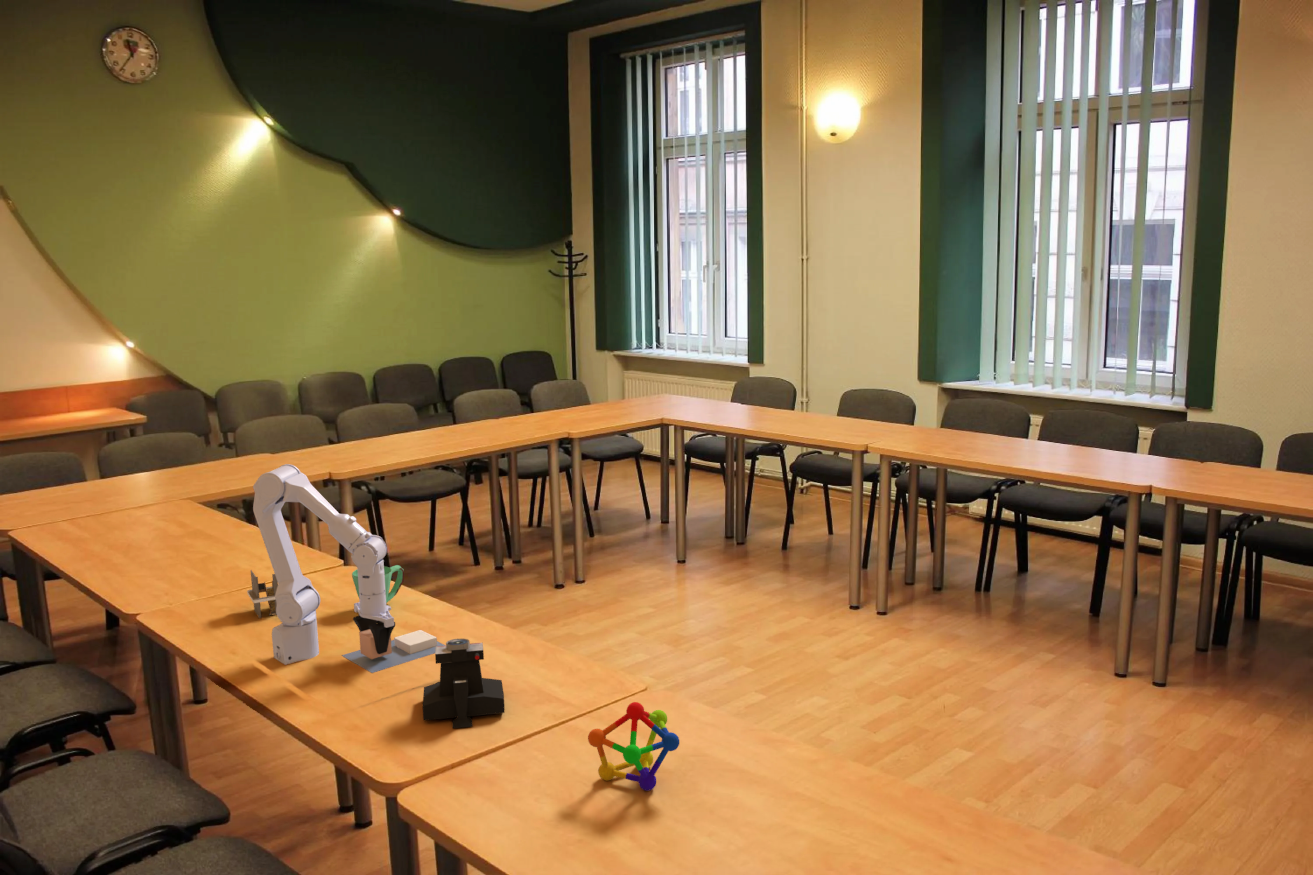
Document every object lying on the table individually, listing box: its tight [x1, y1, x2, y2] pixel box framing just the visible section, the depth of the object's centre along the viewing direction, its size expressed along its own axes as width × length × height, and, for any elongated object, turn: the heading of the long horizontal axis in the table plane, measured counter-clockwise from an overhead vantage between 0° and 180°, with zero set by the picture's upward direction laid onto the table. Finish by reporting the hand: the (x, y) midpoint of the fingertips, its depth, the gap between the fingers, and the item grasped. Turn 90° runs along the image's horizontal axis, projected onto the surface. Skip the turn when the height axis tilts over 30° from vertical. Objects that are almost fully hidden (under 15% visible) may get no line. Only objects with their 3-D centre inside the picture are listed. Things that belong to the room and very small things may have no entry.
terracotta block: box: [358, 629, 392, 659], centre depth 244 cm, size 5×5×5 cm
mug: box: [351, 564, 405, 604], centre depth 280 cm, size 15×10×10 cm
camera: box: [422, 638, 506, 729], centre depth 218 cm, size 16×14×15 cm
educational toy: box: [587, 701, 680, 792], centre depth 189 cm, size 16×13×15 cm
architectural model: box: [246, 569, 278, 619], centre depth 277 cm, size 19×17×11 cm
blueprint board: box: [341, 629, 446, 674], centre depth 248 cm, size 20×14×3 cm
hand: (375, 649), depth 244 cm, fingers closed on terracotta block, 5 cm apart
